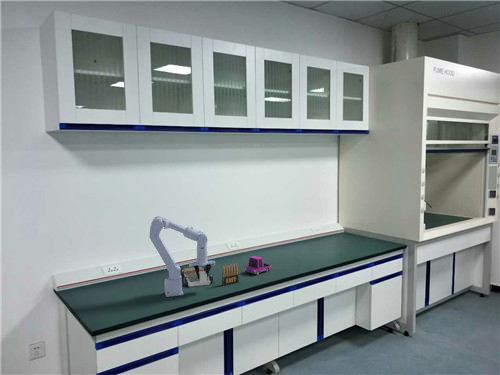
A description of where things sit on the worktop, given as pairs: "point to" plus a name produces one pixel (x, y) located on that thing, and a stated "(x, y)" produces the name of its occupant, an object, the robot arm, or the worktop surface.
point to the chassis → (194, 277)
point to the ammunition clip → (230, 275)
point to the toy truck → (257, 265)
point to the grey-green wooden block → (202, 277)
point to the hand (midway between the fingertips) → (202, 278)
